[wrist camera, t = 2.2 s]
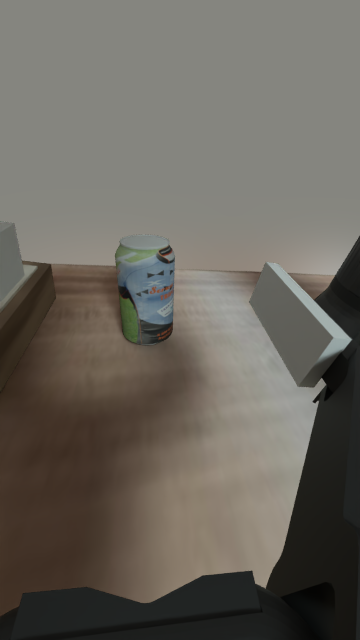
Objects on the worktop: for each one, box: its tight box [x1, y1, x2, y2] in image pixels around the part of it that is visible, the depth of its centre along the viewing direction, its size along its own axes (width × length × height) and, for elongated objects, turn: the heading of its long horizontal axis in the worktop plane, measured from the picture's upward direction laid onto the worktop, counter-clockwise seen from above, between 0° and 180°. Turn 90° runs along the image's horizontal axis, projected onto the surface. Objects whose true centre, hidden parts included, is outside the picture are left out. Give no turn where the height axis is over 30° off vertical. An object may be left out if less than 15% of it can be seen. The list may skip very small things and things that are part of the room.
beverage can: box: [115, 235, 175, 345], centre depth 27 cm, size 6×7×12 cm
